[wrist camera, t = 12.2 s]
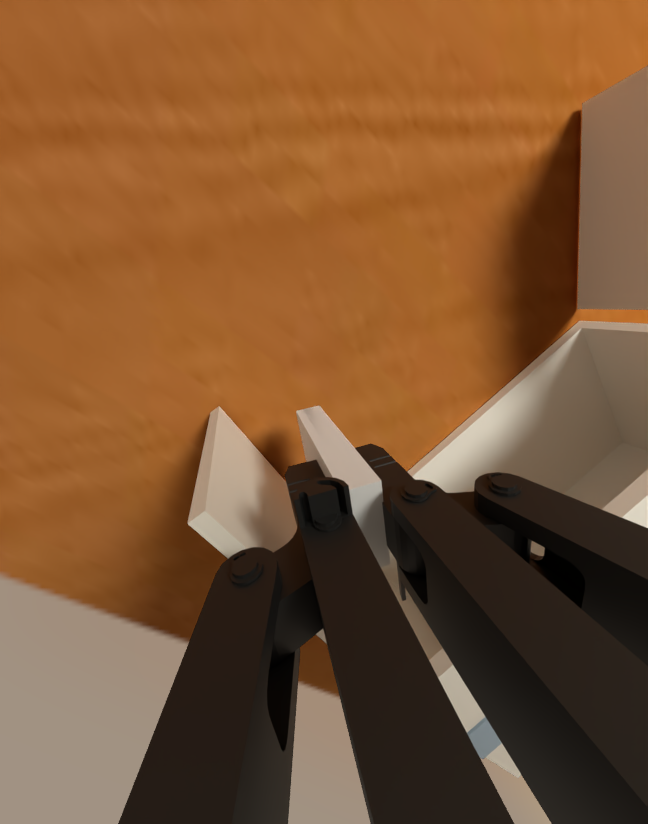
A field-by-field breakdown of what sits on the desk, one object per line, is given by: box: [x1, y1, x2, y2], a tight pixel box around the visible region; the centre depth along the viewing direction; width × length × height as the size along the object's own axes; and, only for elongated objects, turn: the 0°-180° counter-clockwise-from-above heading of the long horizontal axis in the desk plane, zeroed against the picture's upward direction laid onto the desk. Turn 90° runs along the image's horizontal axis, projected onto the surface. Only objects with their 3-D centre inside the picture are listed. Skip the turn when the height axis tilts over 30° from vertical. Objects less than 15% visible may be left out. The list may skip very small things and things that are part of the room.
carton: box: [381, 321, 648, 778], centre depth 18 cm, size 20×11×9 cm, turn 128°
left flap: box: [187, 406, 327, 644], centre depth 13 cm, size 10×1×8 cm, turn 33°
